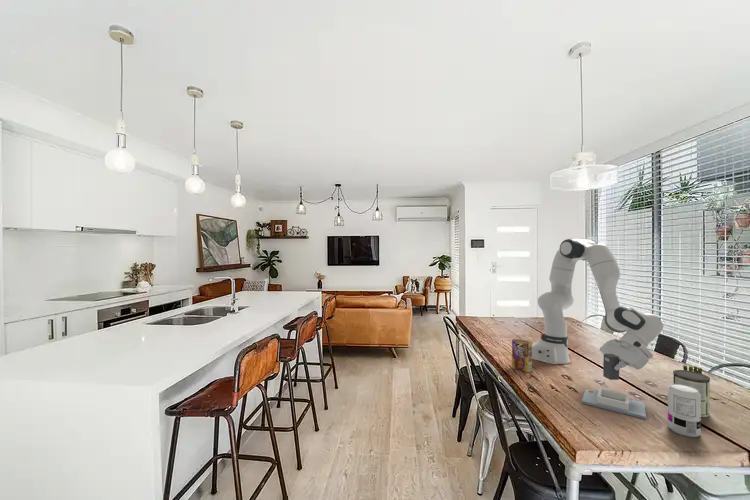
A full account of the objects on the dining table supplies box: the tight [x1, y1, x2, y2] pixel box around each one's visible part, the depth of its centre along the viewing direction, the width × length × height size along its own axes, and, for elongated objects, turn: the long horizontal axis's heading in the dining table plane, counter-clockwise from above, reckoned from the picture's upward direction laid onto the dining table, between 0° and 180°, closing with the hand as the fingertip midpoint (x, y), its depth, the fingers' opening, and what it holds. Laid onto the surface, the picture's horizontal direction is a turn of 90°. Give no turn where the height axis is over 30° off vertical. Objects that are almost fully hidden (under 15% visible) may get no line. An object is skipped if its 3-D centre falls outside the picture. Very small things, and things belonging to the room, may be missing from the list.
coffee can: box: [672, 369, 711, 418], centre depth 125 cm, size 10×10×14 cm
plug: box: [602, 354, 620, 381], centre depth 142 cm, size 4×4×10 cm
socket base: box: [581, 387, 647, 420], centre depth 130 cm, size 20×14×4 cm
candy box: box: [511, 338, 533, 373], centre depth 168 cm, size 9×4×15 cm, turn 39°
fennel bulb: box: [682, 364, 703, 374], centre depth 141 cm, size 6×5×12 cm
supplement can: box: [667, 383, 702, 438], centre depth 111 cm, size 8×8×15 cm
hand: (609, 366), depth 142 cm, fingers closed on plug, 4 cm apart
